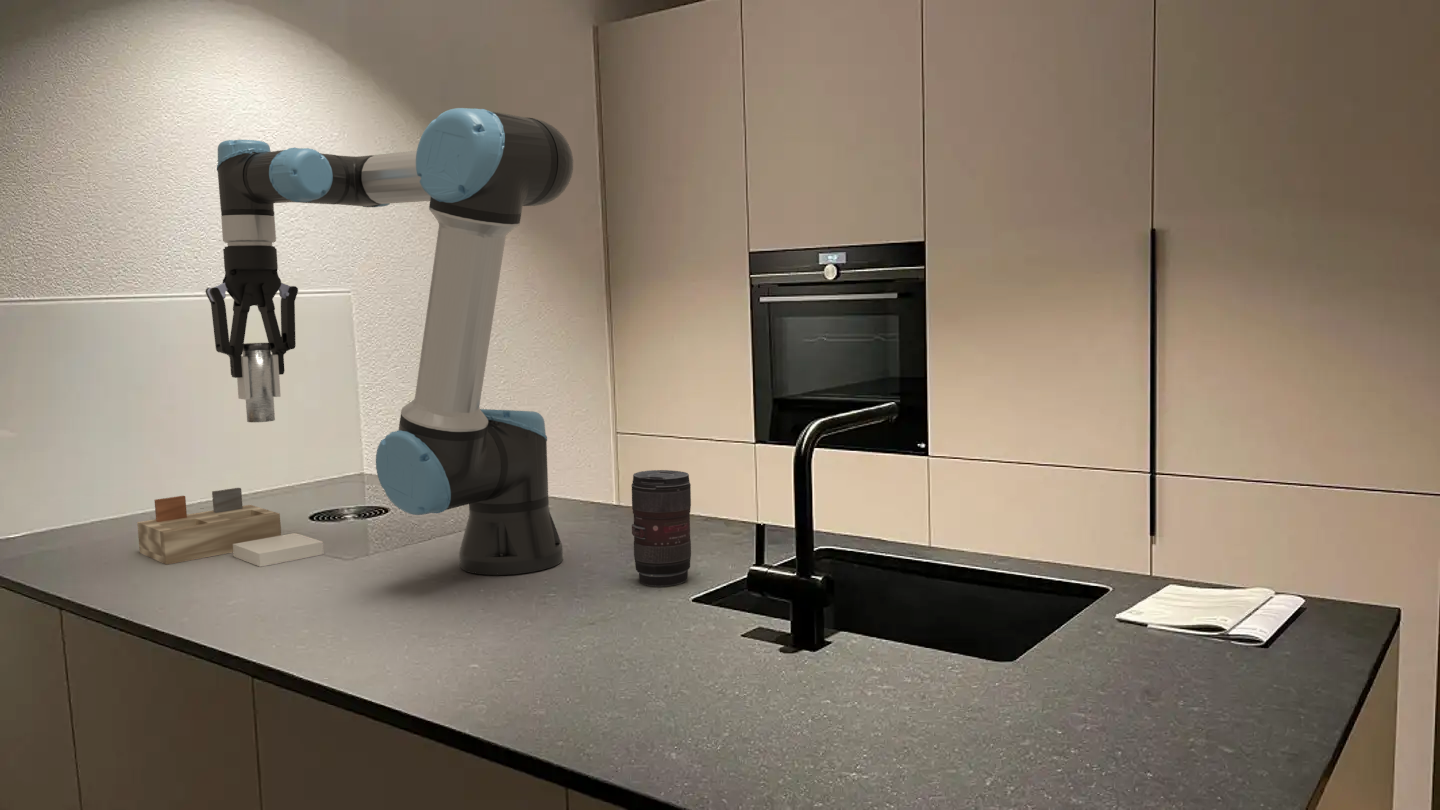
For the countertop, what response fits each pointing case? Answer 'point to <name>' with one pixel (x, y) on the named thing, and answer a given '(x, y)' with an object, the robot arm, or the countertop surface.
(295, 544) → the plate
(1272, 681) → the countertop surface
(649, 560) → the camera lens
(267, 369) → the shaker with dark cap
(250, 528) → the socket block
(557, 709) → the countertop surface
